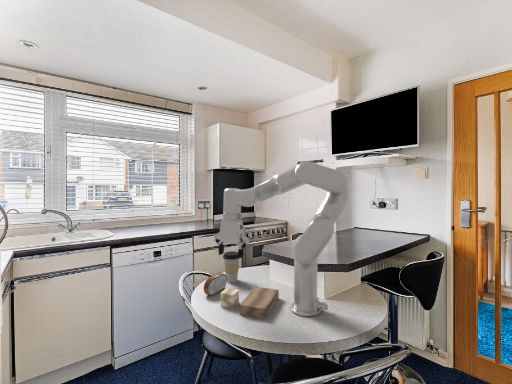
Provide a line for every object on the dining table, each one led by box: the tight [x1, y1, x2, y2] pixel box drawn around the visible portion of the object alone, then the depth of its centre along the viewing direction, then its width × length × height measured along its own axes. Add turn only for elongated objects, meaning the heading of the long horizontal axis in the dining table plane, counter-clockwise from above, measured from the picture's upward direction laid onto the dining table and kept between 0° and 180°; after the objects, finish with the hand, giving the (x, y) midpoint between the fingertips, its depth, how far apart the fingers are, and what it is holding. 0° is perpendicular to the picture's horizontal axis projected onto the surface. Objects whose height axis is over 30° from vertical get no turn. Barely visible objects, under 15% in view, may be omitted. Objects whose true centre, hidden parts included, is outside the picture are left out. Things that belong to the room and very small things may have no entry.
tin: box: [203, 272, 228, 296], centre depth 137 cm, size 15×3×8 cm, turn 149°
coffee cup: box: [222, 250, 240, 284], centre depth 152 cm, size 9×9×15 cm
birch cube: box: [220, 287, 240, 309], centre depth 124 cm, size 6×6×6 cm
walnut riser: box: [238, 286, 280, 320], centre depth 123 cm, size 11×20×4 cm, turn 160°
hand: (230, 255), depth 124 cm, fingers open, 9 cm apart
